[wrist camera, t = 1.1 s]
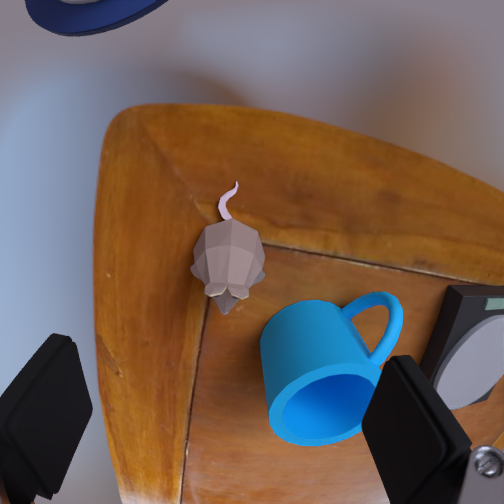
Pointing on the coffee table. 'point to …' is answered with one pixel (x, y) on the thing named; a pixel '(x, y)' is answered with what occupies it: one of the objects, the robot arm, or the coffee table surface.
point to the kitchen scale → (467, 345)
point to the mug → (323, 368)
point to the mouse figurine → (228, 258)
